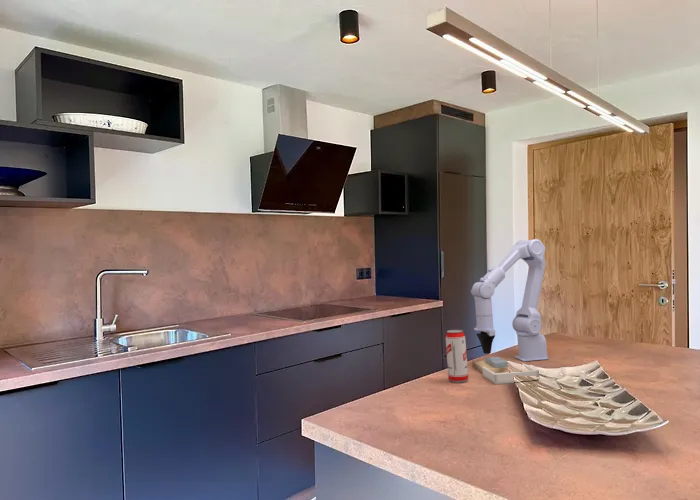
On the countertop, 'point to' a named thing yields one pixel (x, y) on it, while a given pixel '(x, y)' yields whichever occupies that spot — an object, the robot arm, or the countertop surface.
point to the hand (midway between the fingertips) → (487, 353)
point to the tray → (508, 375)
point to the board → (488, 367)
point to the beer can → (456, 356)
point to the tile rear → (492, 359)
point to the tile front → (498, 363)
